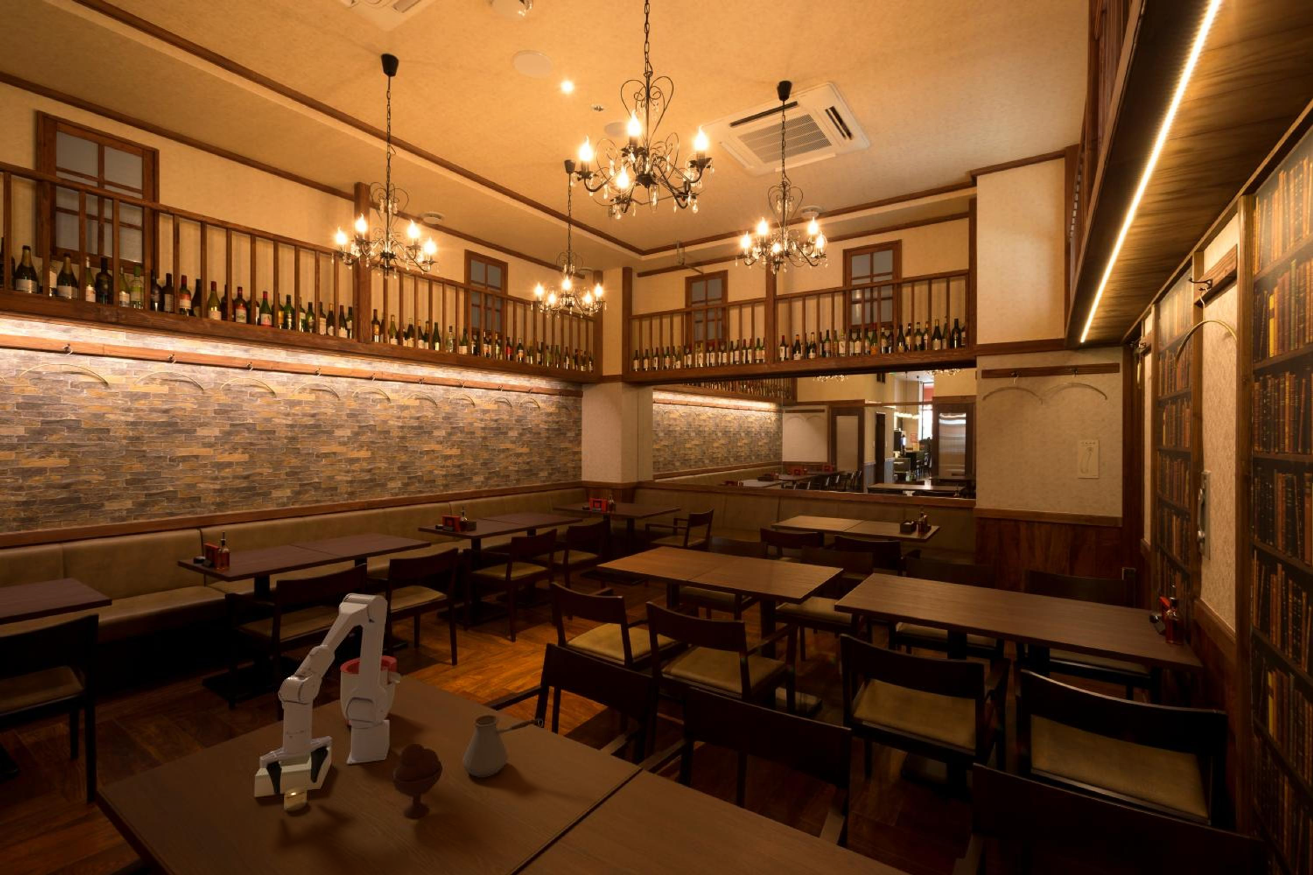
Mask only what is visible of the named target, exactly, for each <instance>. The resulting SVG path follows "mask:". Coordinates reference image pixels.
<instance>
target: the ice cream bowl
mask: <svg viewBox="0 0 1313 875" xmlns="http://www.w3.org/2000/svg"><path fill="white" fill-rule="evenodd" d="M399 762H400V764H399V765H397V766H396V767H395V768H394V769H393V770H392V771H391V774H392V780H393V781H392V782H393V786H394V788H395V789H396V790H397V791H398V792H399V793H400V794H402V795H405V796H407V797H411V798H412V803H411V804H408V805H407V806H406V807H405V808H404V810H403V816H404V817H405V818H408V819H418V818H421V817H424V816H425V815H426V814H427V813H428V812H429V811H430V809H429V805H428V804H427V803H426V802H423V801H421V800H422V799H421V798H422V797H421V796H422V795H425V794H426V793H428V792H429V791H430V790H431V789H432V788H433V787H434V786H436V784H437V783H438V782H439V780H440V779H441V776H442V773H443V766H442V762H441V761H440V760H439V756H438V754H437V752H436V751H434V750H433V749H431V748H424V746H423V744H419V743H409V744H408V745H407V746H405V747H403V750H402V751H401V752H400V754H399Z"/></svg>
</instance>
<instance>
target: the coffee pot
mask: <svg viewBox="0 0 1313 875" xmlns="http://www.w3.org/2000/svg"><path fill="white" fill-rule="evenodd" d="M499 721H500V719H499V716H497V715H494V714H483V715H479V716H478V717H476V718H475V719H474V720H473V725H475V731H474V732H473V735H472V737H471V739H470V742H469V744H468V746H467V749H466V751H465V753H464V756H463V758H462V765H463V767H464V769H465V770H466V772H468V773H469V774H470V775H471V776H473V777H475V776H476V777H475V778H487V776H488V777H492V776H494V775H495V773H496V774H497V773H499V771H500V770H502V769H503V768H504V766H505V765H506V763H507V762H508V759H509V754H508V752H507V749H506V747H505V745H504V742H503V740H502V738H501V735H502V734H504V733H507V732H510V731H514V730H518V729H522V728H525V727H527V726H530V725H534V724H535V723H537V725H538V727H539V728H541V727H543V725H544V721H543V719H542V718H540V717H538V718H535V719H533V718H532V719H530V720H527V721H523V722H520V723H516V724H514V725H511V726H510V727H506V728H503V729H499V730H498V728H497V724H498V723H499ZM540 721H541V725H540ZM493 774H494V775H493ZM491 775H492V776H491Z"/></svg>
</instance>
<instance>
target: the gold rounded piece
mask: <svg viewBox="0 0 1313 875" xmlns="http://www.w3.org/2000/svg"><path fill="white" fill-rule="evenodd" d="M307 796H308V790H307V789H306V788H304V787H297V788H293V789H291V790H289V791H287V792H286V793H284V798H283V809H284V811H287V812H294V811H297V810H300V809H302V808H304V807H305V806H306V805H307V799H308V798H307Z"/></svg>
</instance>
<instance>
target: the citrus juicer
mask: <svg viewBox="0 0 1313 875" xmlns="http://www.w3.org/2000/svg"><path fill="white" fill-rule="evenodd" d="M397 662H398V661H397V659H396V657H393V656H390V655H382V658H381V669H380V679H379V685H380V686H381V687H382V688H383V689H384V690H385V691H386V692H387V701H388V706H389V709H388V713H387V715H386V717H385V719H384V720H387V718H388V717H389V714H390V713H391V710H392V706H393V702H394V699H395V693H396V692H395V691H396V690H395V689H396V684H399V683H400V682H401V680H402V676H401V674H400V673H398V672H397V665H398V664H397ZM359 665H360V657H356V658H354V659H350V660H348V661H345V662H344V663H343V664H341V666H340V667H339V669H340V671H341V672H340V708H341V711H342V716H343V718H344V721H345V723H346V725H348V726H350V727H352V725H351V724H349V720H348V719H346V717H345V706H346V704H347V702H348V698H349V693H350V692H351V691H352V690H354V689H355V688H356V687H357V685H358V675H359Z"/></svg>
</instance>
